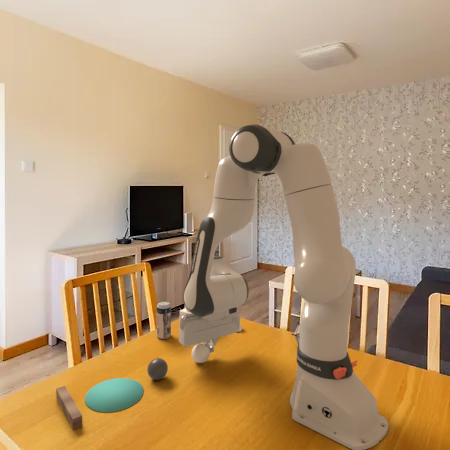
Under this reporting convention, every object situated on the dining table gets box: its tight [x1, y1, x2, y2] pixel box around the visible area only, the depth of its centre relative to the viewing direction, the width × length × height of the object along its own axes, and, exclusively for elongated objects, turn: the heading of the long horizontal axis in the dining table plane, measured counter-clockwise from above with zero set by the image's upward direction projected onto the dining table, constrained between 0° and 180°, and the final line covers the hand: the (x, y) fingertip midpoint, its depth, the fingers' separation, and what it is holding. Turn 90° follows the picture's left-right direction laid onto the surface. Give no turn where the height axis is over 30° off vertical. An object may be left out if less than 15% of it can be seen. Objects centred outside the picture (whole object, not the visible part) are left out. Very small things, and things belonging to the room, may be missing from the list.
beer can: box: [156, 301, 172, 340], centre depth 121 cm, size 5×5×12 cm
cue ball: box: [190, 343, 211, 364], centre depth 105 cm, size 6×6×6 cm
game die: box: [291, 321, 300, 346], centre depth 116 cm, size 9×8×10 cm
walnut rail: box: [55, 385, 83, 431], centre depth 81 cm, size 14×2×2 cm, turn 39°
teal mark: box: [84, 377, 144, 413], centre depth 88 cm, size 14×14×1 cm
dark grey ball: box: [147, 357, 169, 381], centre depth 96 cm, size 6×6×6 cm
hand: (209, 352), depth 107 cm, fingers closed
